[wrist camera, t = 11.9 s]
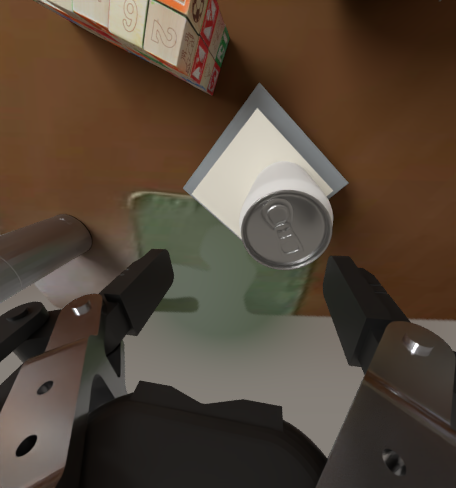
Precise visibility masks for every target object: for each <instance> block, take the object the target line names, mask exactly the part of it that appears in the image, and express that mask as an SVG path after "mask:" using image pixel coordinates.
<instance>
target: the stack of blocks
mask: <svg viewBox="0 0 456 488" xmlns="http://www.w3.org/2000/svg"><path fill="white" fill-rule="evenodd" d="M33 1H35V2H37V3H39V4H40V5H42V6H44V7H45V8H47V9H49V10H51V11H53V12H55V13H56V14H58V15H60V16H62V17H63V18H65V19H67V20H69V21H71V22H73V23H75V24H77V25H78V26H80V27H82V28H84V29H85V30H87V31H89V32H91V33H93V34H95V35H96V36H98V37H100V38H102V39H104V40H106V41H108V42H110V43H112V44H114V45H116V46H118V47H120V48H121V49H123V50H125V51H127V52H129V53H133V54H134V55H136V56H138V57H140V58H142V59H144V60H146V61H148V62H150V63H152V64H154V65H156V66H158V67H160V68H162V69H164V70H165V71H167V72H169V73H171V74H172V75H174V76H176V77H178V78H180V79H181V80H183V81H185V82H187V83H189V84H191V85H193V86H194V87H196V88H198V89H200V90H202V91H204V92H206V93H207V94H209V95H213V92H214V89H215V86H216V83H217V79H218V76H219V73H220V68H221V65H222V62H223V58H224V55H225V52H226V49H227V45H228V42H229V39H230V37H229V34H228V31H227V28H226V25H225V24H224V22H223V19H222V16H221V13H220V10H219V5H218V3H217V0H33Z"/></svg>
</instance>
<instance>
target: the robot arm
mask: <svg viewBox="0 0 456 488" xmlns="http://www.w3.org/2000/svg"><path fill="white" fill-rule="evenodd" d="M91 245H92V239H91V236H90V234H89V232H88V230H87V229H86V227H85V226H84V225H83V224H82V223H81V222H80V221H79V220H77V219H76V218H74V217H72V216H70V215H66V214H61V215H57V216H54V217H52V218H49V219H46V220H43V221H40V222H37V223H34V224H32V225H29V226H26V227H23V228H20V229H18V230H15V231H12V232H9V233H6V234H4V235H1V236H0V303H2V302H3V301H5V300H7V299H8V298H10V297H12V296H13V295H15V294H17V293H18V292H20V291H21V290H23V289H25V288H26V287H28V286H29V285H31V284H33V283H35V282H36V281H38V280H40V279H41V278H43V277H45V276H46V275H48V274H50V273H51V272H53V271H55V270H56V269H58V268H59V267H61V266H63V265H64V264H66V263H68V262H69V261H71V260H73V259H75V258H76V257H78V256H80V255H81V254H83V253H84V252H86V251H88V250H89V249H90V247H91ZM173 279H174V273H173V269H172V264H171V260H170V256H169V252H168V251H167V250H166V249H151V250H150V251H149V252H148V253H147V254H146V255H145V256H143V257H142V258H141V259H139V260H137V261H135V262H133V263H132V264H131V265H130V266H129V267H128V268H127V269H126V270H124V271H123V272H122V273H121V275H119V276H118V277H117V278H115V279H114V280H113V281H112V282H111V283H110V284H109V285H108V286H106V287H105V288H104V289H103V290H102V291H101V292H100V293H99V294H95V293H93V294H87V295H83V296H81V297H78V298H76V299H74V300H72V301H71V302H69V303H68V304H67V305H66V306H64V307H63V308H62V309H60V310H54V311H47V310H46V309H45V307H44V305H43V304H42V303H41V302H30V303H26V304H23V305H20V306H18V307H15V308H13V309H11V310H10V311H8V312H6V313H5V314H3V315H1V316H0V362H1V361H2V360H3V359H4V358H5V357H7V356H8V355H9V354H10V353H11V352H12V351H13V352H14V353H15V354H16V355H17V356H18V357H19V359H20V360H21V361H22V362H23V364H22V365H21V366H20V367H19V368H18V369H17V370H16V371H14V372H13V373H12V374H11V375H10V376H9V377H8V378H7V379H6V380H5V381H4V382H3V383H2V384H1V385H0V488H456V352H455V351H453V350H452V349H451V347H450V346H449V345H448V344H447V343H446V342H445V341H444V340H443V339H442V338H440V337H439V336H438V335H436V334H435V333H433V332H432V331H430V330H428V329H426V328H424V327H422V326H419V325H417V324H413V323H411V322H410V321H409V320H408V318H407V317H406V316H405V314H404V313H403V312H402V311H401V309H400V308H399V307H398V306H397V304H396V303H395V302H394V301H393V299H392V298H391V297H390V295H389V294H387V292H386V290H385V289H384V288H383V287H382V286H381V284H380V283H379V281H378V280H377V279H376V278H375V276H374V275H372V274H371V273H369V272H368V271H366V270H365V269H363V268H357V266H356V265H355V263H354V262H353V261H352V259H351V258H350V257H349V256H330V257H329V258H328V262H327V267H326V272H325V277H324V282H323V294H324V298H325V300H326V303H327V306H328V309H329V311H330V314H331V317H332V319H333V323H334V325H335V328H336V331H337V334H338V336H339V339H340V342H341V345H342V347H343V350H344V353H345V356H346V359H347V361H348V364H349V365H350V366H357V367H362V370H363V372H364V375H365V376H364V378H363V380H362V382H361V385H360V387H359V389H358V391H357V393H356V396H355V398H354V400H353V403H352V405H351V407H350V409H349V412H348V414H347V416H346V418H345V421H344V423H343V425H342V427H341V429H340V432H339V434H338V436H337V438H336V440H335V443H334V445H333V447H332V450H331V452H330V454H329V456H328V458H326V456H325V455H324V454H323V453H322V451H321V450H320V449H319V448H318V447H317V446H316V445H315V444H314V443H313V442H312V441H311V440H310V439H309V438H308V437H307V436H306V435H305V434H303V433H302V432H301V431H300V430H299V429H297V428H296V427H294V426H293V425H291V424H290V423H288V422H286V421H284V420H283V418H282V406H277V405H271V404H266V403H260V402H255V401H249V400H244V399H242V400H234V401H226V402H218V403H210V404H202V403H199V402H198V401H196V400H194V399H192V398H191V397H189V396H187V395H185V394H184V393H182V392H180V391H179V390H177V389H175V388H173V387H172V386H167V385H162V384H156V383H151V382H145V381H139V384H138V385H137V387H136V389H135V391H134V393H130V394H127V391H126V386H125V356H124V355H125V352H124V342H123V338H124V337H125V335H133V336H137V335H138V334H139V332H140V331H141V329H142V328H143V326H144V325H145V324H146V322H147V321H148V319H149V318H150V316H151V315H152V313H153V312H154V310H155V309H156V307H157V306H158V304H159V303H160V301H161V300H162V298H163V297H164V295H165V294H166V292H167V291H168V289H169V288H170V287H171V285H172V283H173Z"/></svg>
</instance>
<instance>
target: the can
mask: <svg viewBox="0 0 456 488" xmlns="http://www.w3.org/2000/svg"><path fill="white" fill-rule="evenodd" d="M332 225H333V212H332V208H331V205H330V202H329V200H328V198H327V197H326V195H325V194H324V192H323V191H322V190H321V189H320V187H319V186H318V185H317V184H316V182H315V181H314V180H313V179H312V178H311V177H310V175H309V174H308V173H307V172H306V171H305V170H304V169H303V168H302V167H301V166H299V165H297V164H295V163H293V162H288V161H279V162H275V163H273V164H271V165H269V166H267V167H266V168H265V169H263V170H262V171H261V172H260V173H259V175H258V176H257V178H256V180H255V181H254V183H253V185H252V187H251V189H250V191H249V193H248V195H247V197H246V199H245V201H244V204H243V206H242V209H241V212H240V218H239V227H240V232H241V237H242V241H243V244H244V247H245V248H246V250H247V252H248V253H249V254H250V255H251V256H252V257H253V258H254V259H255V260H256V261H257V262H259V263H261V264H262V265H265V266H267V267H270V268H273V269H279V270H291V269H297V268H300V267H303V266H306V265H308V264H310V263H312V262H313V261H315V260H316V259H317V258H318V257H320V256H321V255H322V253H323V252H324V251H325V250H326V248H327V246H328V245H329V242H330V240H331V236H332Z"/></svg>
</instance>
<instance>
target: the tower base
mask: <svg viewBox="0 0 456 488" xmlns="http://www.w3.org/2000/svg"><path fill="white" fill-rule="evenodd" d="M279 161H288V162H293V163H295V164H297V165H299V166H301V167H302V168H303V169H304V170H305V171H306V172H307V173H308V174H309V175H310V177H311V178H312V179H313V180H314V181H315V182H316V184H317V185H318V186H319V187H320V189H321V190H322V191H323V192H324V194H325V195H326V197H327V198H328V199H329V198H331V197H332V196H333V195H334V194H336V193H337V192H338V191H339V190H340V189H342V188H343V187H344V186H345V185H347V184H348V182H347V181H346V180H345V178H344V177H343V176H342V175H341V174H340V173H339V172H338V171H337V169H336V168H335V167H334V166H333V165H332V164H331V163H330V162H329V160H328V159H327V158H326V157H325V156H324V155H323V154H322V153H321V151H320V150H319V149H318V148H317V147H316V146H315V145H314V144H313V142H312V141H311V140H310V139H309V138H308V137H307V136H306V134H305V133H304V132H303V131H302V130H301V129H300V128H299V127H298V125H297V124H296V123H295V122H294V121H293V120H292V119H291V118H290V116H289V115H288V114H287V113H286V112H285V111H284V110H283V109H282V107H281V106H280V105H279V104H278V103H277V102H276V101H275V100H274V98H273V97H272V96H271V95H270V94H269V93H268V92H267V91H266V89H265V88H264V87H263V86H262V85H261V84H260V83H259V84H258V85H257V86H256V88H255V89H254V91H253V92H252V93H251V95H250V96H249V98H248V99H247V100H246V102H245V103H244V104H243V106H242V107H241V109H240V110H239V111H238V113H237V114H236V116H235V117H234V118H233V120H232V121H231V122H230V124H229V125H228V127H227V128H226V129H225V131H224V132H223V134H222V135H221V136H220V138H219V139H218V140H217V142H216V143H215V145H214V146H213V147H212V149H211V150H210V152H209V153H208V154H207V156H206V157H205V158H204V160H203V161H202V163H201V164H200V165H199V167H198V168H197V170H196V171H195V172H194V174H193V175H192V176H191V178H190V179H189V181H188V182H187V183H186V185H185V186H184V188H183V189H184V190H185V191H186V192H188V193H189V194H190V195H191V196H192V197H193V198H194V199H195V200H197V201H198V202H199V203H200V204H201V205H202V206H203V207H204V208H206V209H207V210H208V211H209V212H210V213H211V214H212V215H213V216H215V217H216V218H217V219H218V220H219V221H220V222H221V223H222V224H224V225H225V226H226V227H227V228H228V229H230V231H231V232H233V233H234V234H235V235H236V236H237V237H238V238H239V239H240V240H242V237H241V232H240V227H239V218H240V212H241V209H242V206H243V204H244V201H245V199H246V197H247V195H248V193H249V191H250V189H251V187H252V185H253V183H254V181H255V180H256V178H257V176H258V175H259V173H260V172H261V171H262V170H263V169H265V168H266V167H267V166H269V165H271V164H273V163H275V162H279Z"/></svg>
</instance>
